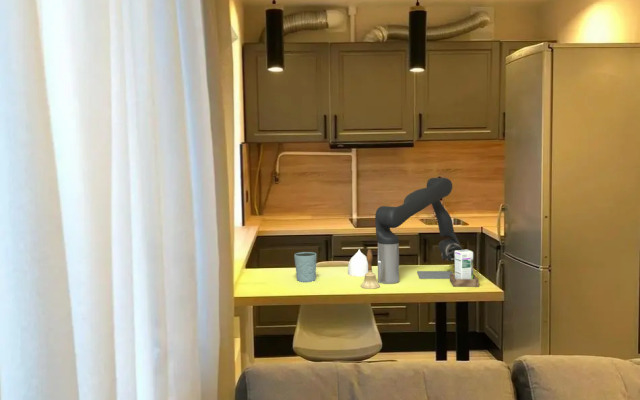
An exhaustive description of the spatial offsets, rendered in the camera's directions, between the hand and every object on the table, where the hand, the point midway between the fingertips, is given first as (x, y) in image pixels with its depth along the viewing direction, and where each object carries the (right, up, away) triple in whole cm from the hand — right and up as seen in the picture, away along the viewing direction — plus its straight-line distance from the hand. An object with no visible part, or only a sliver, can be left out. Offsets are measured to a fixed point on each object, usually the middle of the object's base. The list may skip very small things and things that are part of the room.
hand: (460, 258), depth 246 cm
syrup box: (-1, -10, -8) cm, 13 cm away
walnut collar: (-1, -10, -8) cm, 13 cm away
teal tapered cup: (-69, -10, +4) cm, 70 cm away
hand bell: (-41, -11, -10) cm, 43 cm away
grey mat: (-9, -9, +8) cm, 15 cm away
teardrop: (-44, -9, +15) cm, 47 cm away
